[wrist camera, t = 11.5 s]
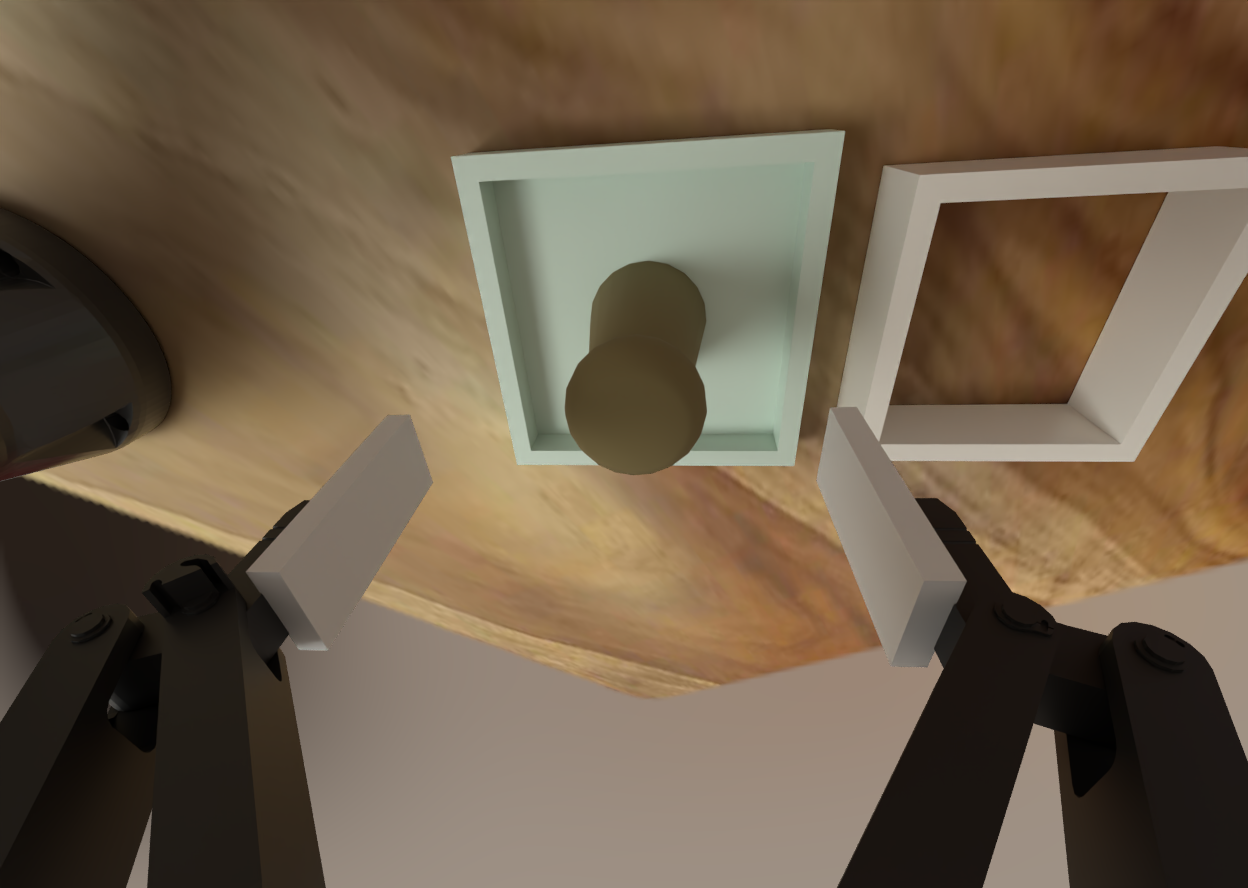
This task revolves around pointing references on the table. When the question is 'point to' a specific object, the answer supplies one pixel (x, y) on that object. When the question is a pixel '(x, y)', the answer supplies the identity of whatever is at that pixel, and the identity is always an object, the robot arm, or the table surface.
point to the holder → (1131, 339)
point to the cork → (640, 371)
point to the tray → (667, 233)
